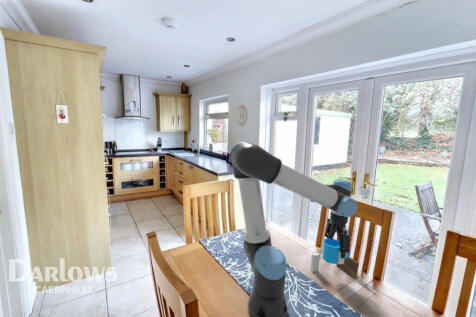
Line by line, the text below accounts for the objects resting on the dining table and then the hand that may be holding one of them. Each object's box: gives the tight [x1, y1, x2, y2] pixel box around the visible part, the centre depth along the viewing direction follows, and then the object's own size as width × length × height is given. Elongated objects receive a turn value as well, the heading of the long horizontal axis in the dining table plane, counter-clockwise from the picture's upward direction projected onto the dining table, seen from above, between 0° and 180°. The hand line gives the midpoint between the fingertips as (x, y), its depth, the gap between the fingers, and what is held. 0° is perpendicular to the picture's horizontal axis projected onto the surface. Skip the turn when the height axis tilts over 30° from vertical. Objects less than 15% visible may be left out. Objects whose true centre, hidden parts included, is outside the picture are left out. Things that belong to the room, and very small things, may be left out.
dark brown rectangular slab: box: [338, 254, 360, 280], centre depth 110 cm, size 2×10×8 cm, turn 27°
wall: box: [310, 252, 339, 273], centre depth 113 cm, size 2×20×10 cm, turn 108°
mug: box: [322, 237, 351, 265], centre depth 105 cm, size 12×8×8 cm
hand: (334, 257), depth 106 cm, fingers closed on mug, 8 cm apart
